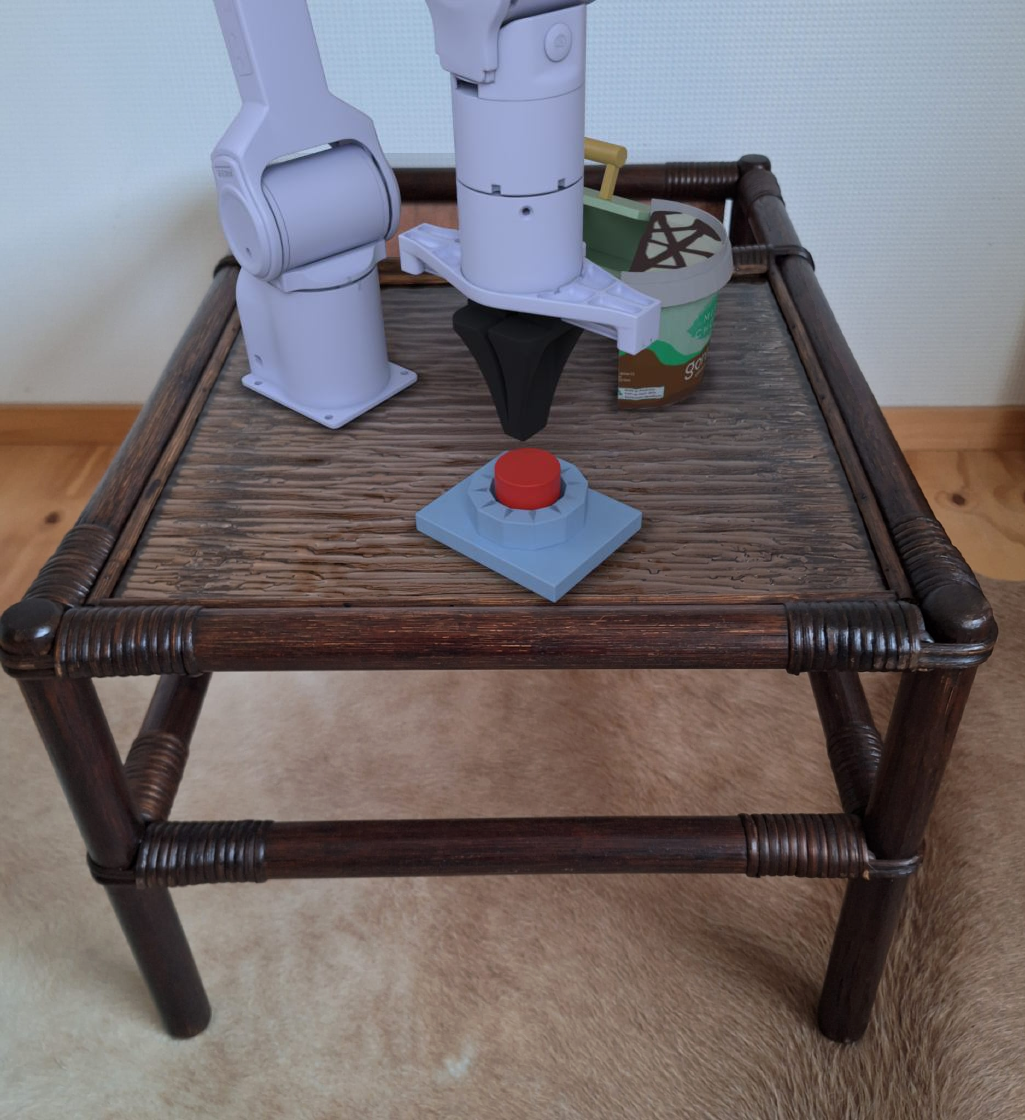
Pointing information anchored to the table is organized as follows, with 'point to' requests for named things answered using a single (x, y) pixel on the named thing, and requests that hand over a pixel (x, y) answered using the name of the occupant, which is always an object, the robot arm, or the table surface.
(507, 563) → the switch block
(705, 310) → the food container
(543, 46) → the robot arm
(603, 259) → the chest
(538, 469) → the button
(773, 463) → the table surface
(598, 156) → the lid
